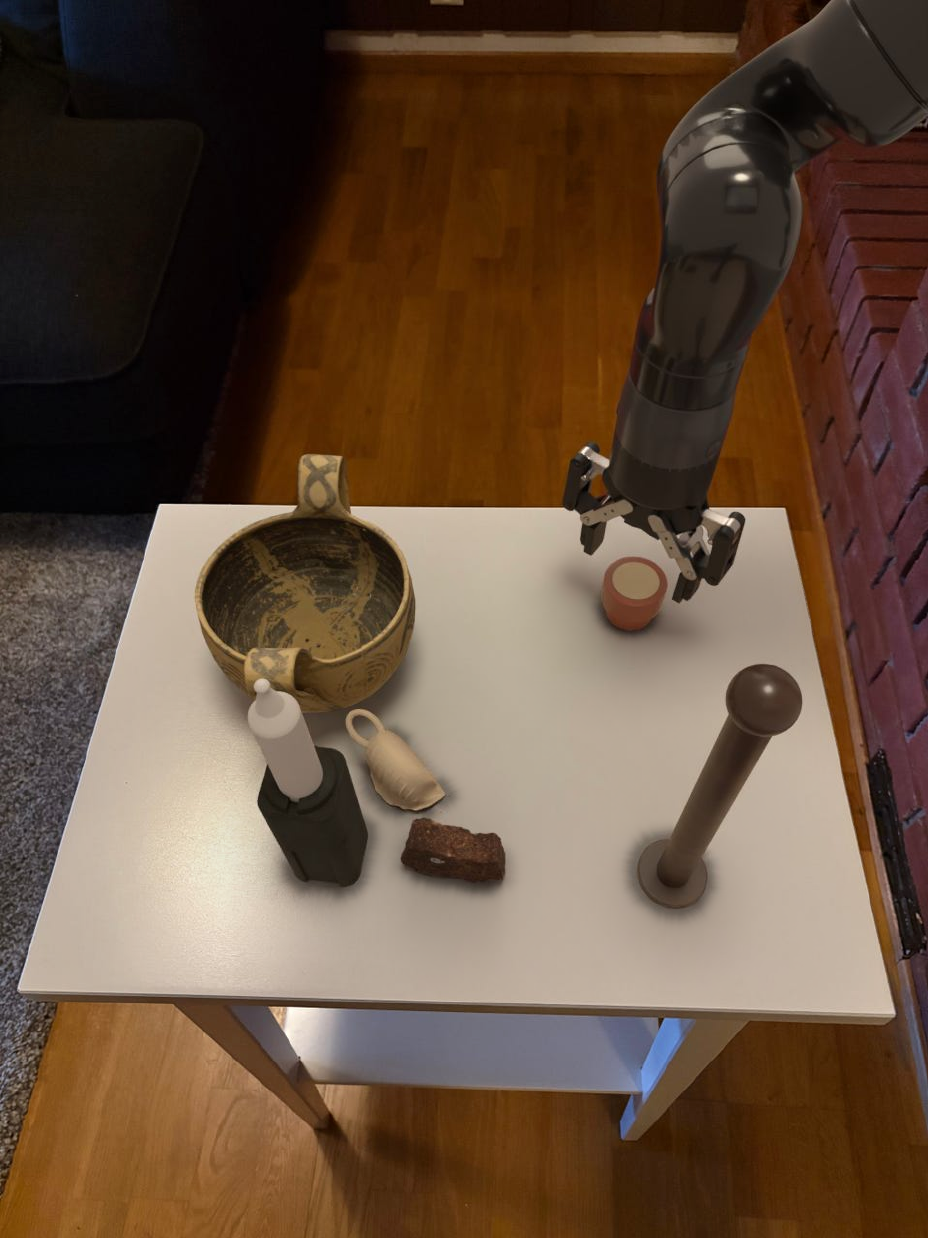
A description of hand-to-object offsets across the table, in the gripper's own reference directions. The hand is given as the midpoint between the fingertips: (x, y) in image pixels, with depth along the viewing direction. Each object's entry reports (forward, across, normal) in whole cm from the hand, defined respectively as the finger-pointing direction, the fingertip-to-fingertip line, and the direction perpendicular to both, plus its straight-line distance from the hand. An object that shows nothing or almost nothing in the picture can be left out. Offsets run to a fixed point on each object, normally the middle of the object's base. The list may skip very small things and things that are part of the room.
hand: (635, 571), depth 73 cm
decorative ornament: (+6, +6, +25) cm, 26 cm away
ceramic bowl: (+6, +18, +20) cm, 28 cm away
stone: (+6, -2, +28) cm, 28 cm away
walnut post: (+6, -15, +19) cm, 25 cm away
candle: (+6, +6, +33) cm, 34 cm away
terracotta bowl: (+6, 0, 0) cm, 6 cm away
